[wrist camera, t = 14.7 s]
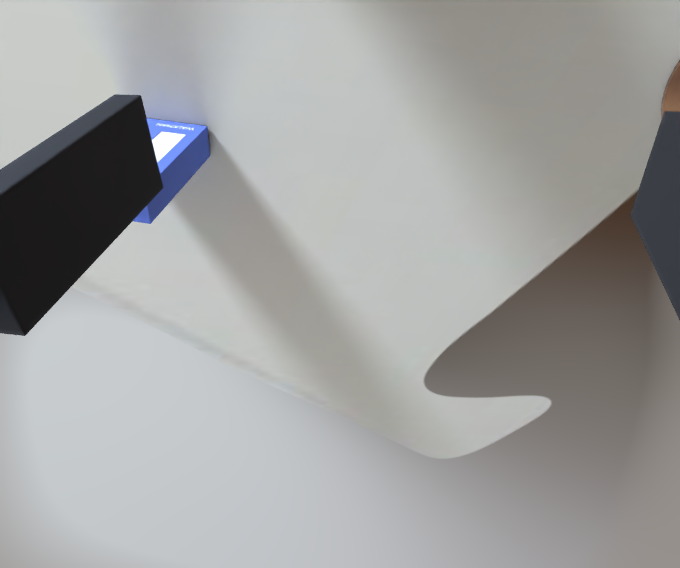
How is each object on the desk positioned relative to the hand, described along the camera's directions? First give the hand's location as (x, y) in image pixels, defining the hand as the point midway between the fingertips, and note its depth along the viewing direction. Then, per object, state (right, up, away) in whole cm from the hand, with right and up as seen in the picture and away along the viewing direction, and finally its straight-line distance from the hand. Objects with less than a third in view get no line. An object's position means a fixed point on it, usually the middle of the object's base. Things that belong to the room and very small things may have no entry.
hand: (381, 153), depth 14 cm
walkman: (-16, +10, +33) cm, 38 cm away
